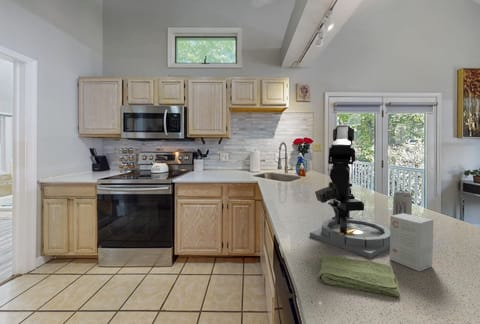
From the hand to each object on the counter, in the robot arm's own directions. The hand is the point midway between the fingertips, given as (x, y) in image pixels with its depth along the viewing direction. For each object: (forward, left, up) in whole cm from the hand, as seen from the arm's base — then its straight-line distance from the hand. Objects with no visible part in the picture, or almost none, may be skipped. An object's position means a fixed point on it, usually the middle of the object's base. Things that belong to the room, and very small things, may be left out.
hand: (339, 224), depth 86 cm
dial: (-5, +3, -4) cm, 7 cm away
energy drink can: (-29, +9, -6) cm, 30 cm away
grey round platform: (-5, +3, -6) cm, 8 cm away
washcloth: (+19, +17, -6) cm, 26 cm away
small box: (-1, +22, -6) cm, 22 cm away
